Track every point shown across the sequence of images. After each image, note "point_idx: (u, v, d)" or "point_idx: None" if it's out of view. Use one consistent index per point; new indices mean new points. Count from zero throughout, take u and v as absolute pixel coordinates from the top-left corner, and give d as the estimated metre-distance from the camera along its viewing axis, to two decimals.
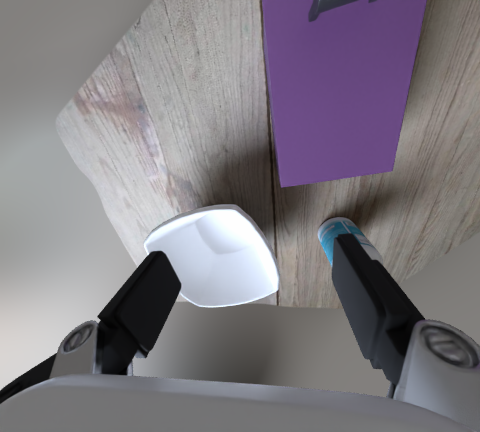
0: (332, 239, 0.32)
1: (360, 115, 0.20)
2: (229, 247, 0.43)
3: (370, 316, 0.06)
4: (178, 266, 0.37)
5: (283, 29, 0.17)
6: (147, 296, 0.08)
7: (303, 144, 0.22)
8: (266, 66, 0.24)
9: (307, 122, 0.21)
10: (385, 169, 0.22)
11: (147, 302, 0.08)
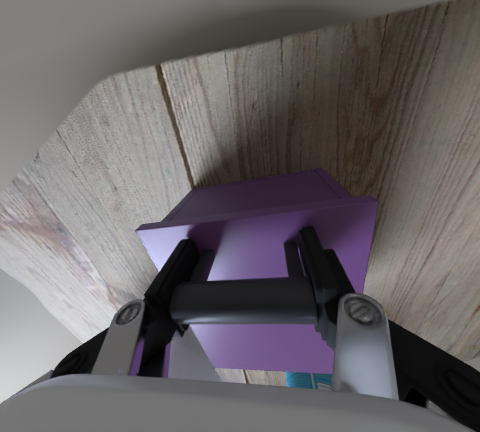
0: (293, 381, 0.27)
1: (297, 333, 0.15)
2: None
3: None
4: None
5: None
6: (182, 280, 0.09)
7: (230, 343, 0.17)
8: None
9: (230, 330, 0.15)
10: None
11: None
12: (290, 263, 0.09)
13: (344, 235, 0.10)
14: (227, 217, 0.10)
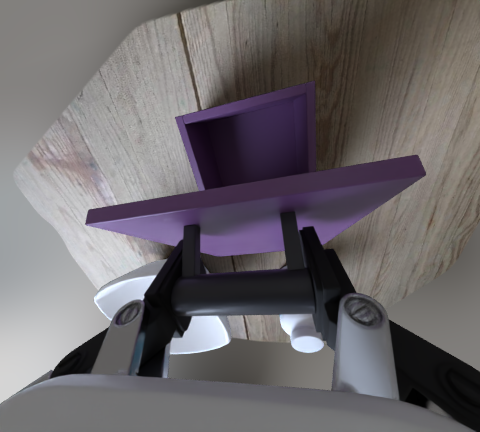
0: None
1: None
2: None
3: None
4: None
5: (153, 232, 0.10)
6: None
7: (229, 250, 0.20)
8: None
9: (228, 247, 0.18)
10: None
11: None
12: (289, 248, 0.08)
13: (356, 202, 0.08)
14: (205, 203, 0.07)
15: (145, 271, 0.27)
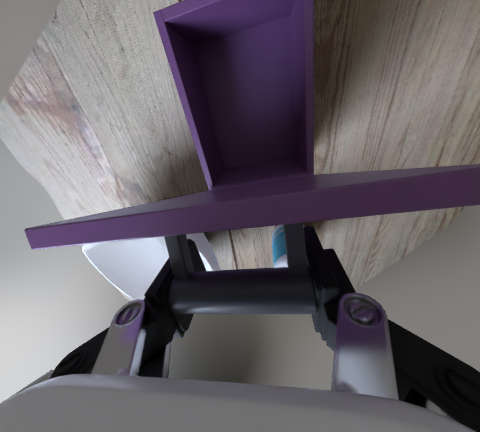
0: (277, 245, 0.31)
1: None
2: None
3: None
4: (128, 270, 0.36)
5: None
6: None
7: None
8: None
9: None
10: None
11: None
12: (292, 254, 0.07)
13: None
14: (181, 229, 0.05)
15: None
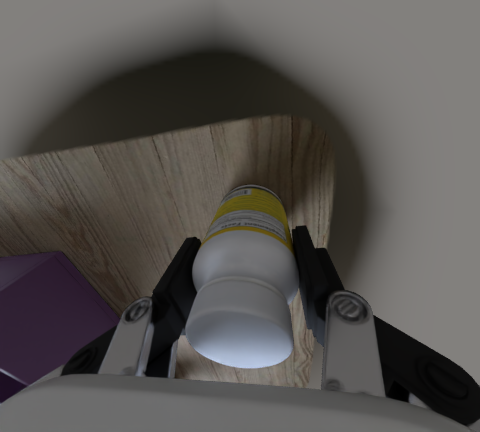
0: None
1: None
2: None
3: (304, 290, 0.07)
4: None
5: None
6: (189, 277, 0.09)
7: None
8: None
9: None
10: None
11: (189, 283, 0.09)
12: None
13: None
14: None
15: None
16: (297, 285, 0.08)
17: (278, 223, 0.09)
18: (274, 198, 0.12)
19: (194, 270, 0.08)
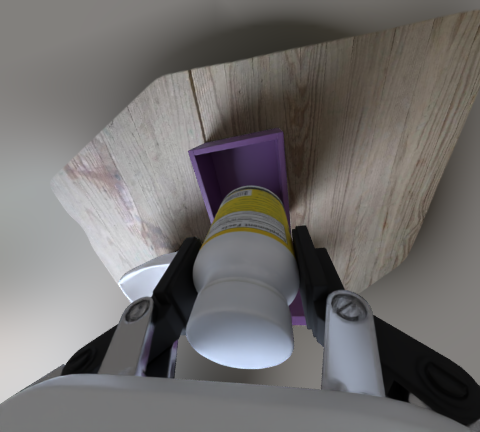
0: None
1: None
2: None
3: (304, 291, 0.07)
4: (150, 296, 0.45)
5: None
6: (189, 277, 0.09)
7: None
8: None
9: None
10: None
11: (189, 283, 0.09)
12: None
13: None
14: None
15: (161, 260, 0.35)
16: (297, 286, 0.08)
17: (278, 224, 0.10)
18: (274, 199, 0.12)
19: (195, 271, 0.08)
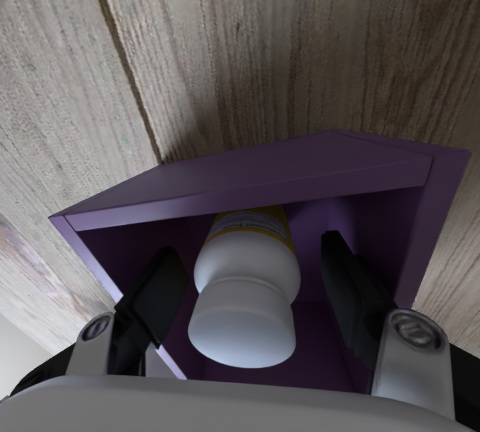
0: None
1: None
2: None
3: (349, 306, 0.06)
4: None
5: None
6: (159, 290, 0.09)
7: None
8: None
9: None
10: None
11: (159, 295, 0.09)
12: None
13: None
14: None
15: None
16: (298, 285, 0.08)
17: (279, 223, 0.10)
18: None
19: (196, 270, 0.08)
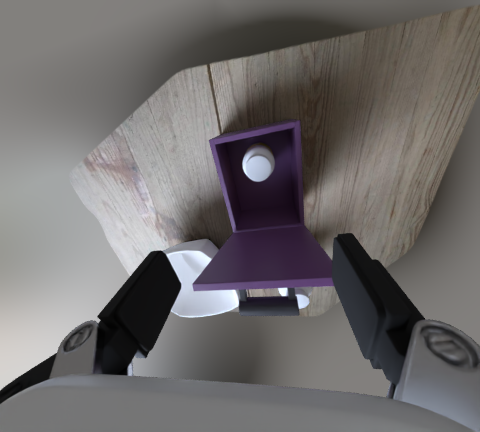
0: None
1: None
2: None
3: (370, 316, 0.06)
4: None
5: None
6: (147, 296, 0.08)
7: None
8: None
9: None
10: None
11: (147, 302, 0.08)
12: (289, 292, 0.18)
13: None
14: (254, 287, 0.16)
15: (178, 248, 0.37)
16: (273, 163, 0.29)
17: (268, 149, 0.30)
18: (268, 146, 0.33)
19: (244, 159, 0.29)
